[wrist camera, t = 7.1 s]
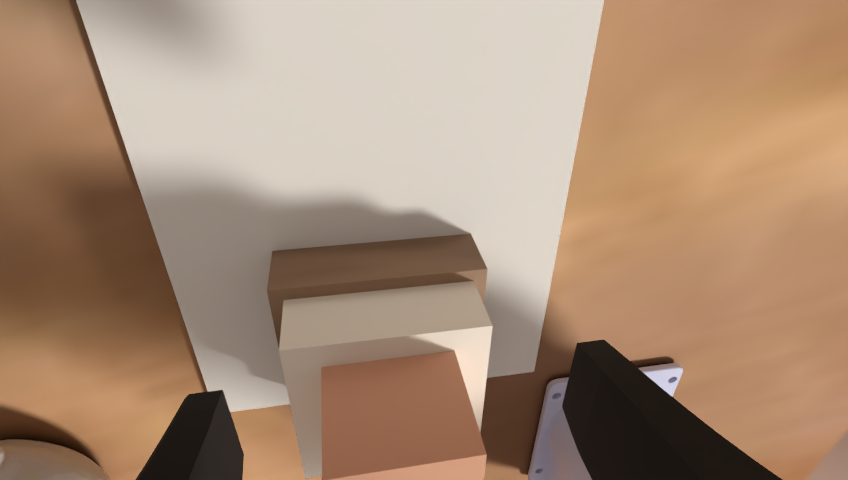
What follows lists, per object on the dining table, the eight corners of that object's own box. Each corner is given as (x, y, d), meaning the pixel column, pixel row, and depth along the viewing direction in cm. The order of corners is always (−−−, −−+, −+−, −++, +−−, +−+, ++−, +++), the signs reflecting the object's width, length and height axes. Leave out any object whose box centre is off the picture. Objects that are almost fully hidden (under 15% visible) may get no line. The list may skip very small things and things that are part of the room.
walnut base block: (460, 367, 25) (473, 408, 23) (298, 388, 24) (296, 433, 22) (470, 233, 21) (487, 268, 19) (272, 250, 20) (266, 290, 17)
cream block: (463, 402, 23) (478, 451, 21) (306, 424, 22) (305, 478, 20) (473, 280, 19) (492, 325, 17) (283, 300, 18) (278, 350, 16)
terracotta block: (449, 432, 20) (476, 537, 16) (333, 450, 19) (337, 563, 16) (454, 350, 17) (486, 454, 14) (321, 367, 16) (322, 480, 13)
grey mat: (531, 366, 27) (534, 371, 26) (216, 407, 24) (215, 413, 24) (612, -80, 16) (619, -80, 15) (53, -87, 13) (47, -87, 13)
